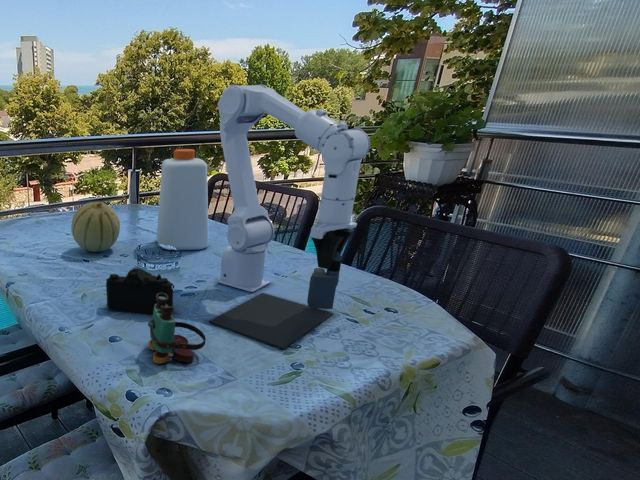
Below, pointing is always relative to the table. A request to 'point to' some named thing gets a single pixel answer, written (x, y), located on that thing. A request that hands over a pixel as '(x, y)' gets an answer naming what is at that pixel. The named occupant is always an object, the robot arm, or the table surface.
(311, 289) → the vaping device
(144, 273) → the film camera
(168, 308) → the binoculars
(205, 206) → the plastic bottle
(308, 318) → the mat
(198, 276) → the table surface
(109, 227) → the cantaloupe
